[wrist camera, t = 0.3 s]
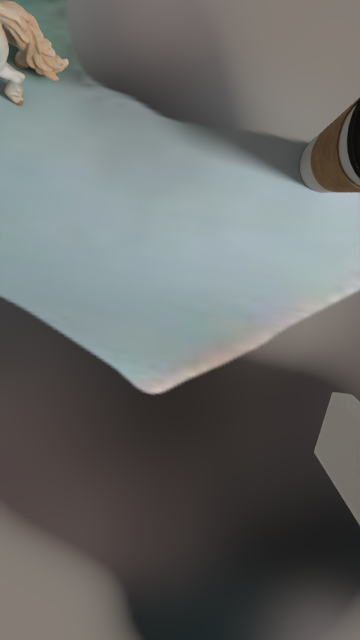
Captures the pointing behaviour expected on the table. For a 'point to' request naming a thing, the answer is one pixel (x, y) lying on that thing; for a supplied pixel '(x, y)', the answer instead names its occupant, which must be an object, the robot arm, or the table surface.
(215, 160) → the table surface
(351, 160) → the coffee cup
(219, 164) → the table surface
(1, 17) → the unicorn figurine
